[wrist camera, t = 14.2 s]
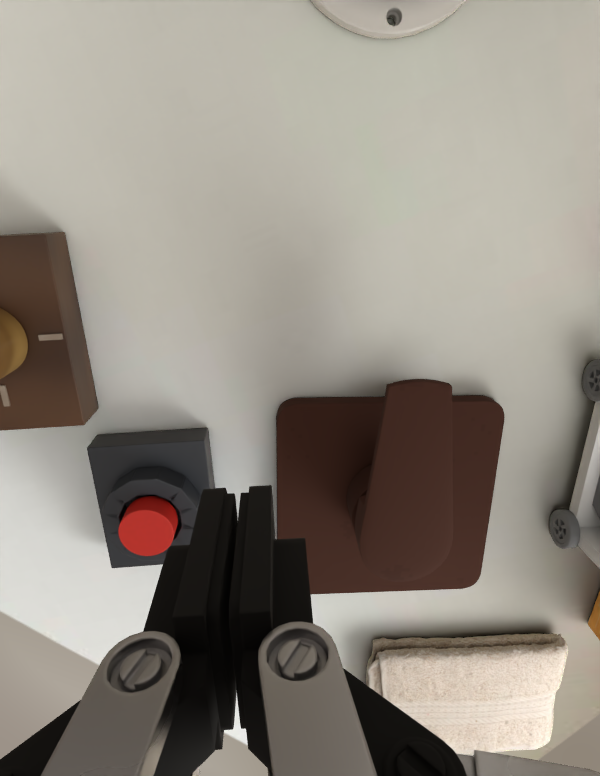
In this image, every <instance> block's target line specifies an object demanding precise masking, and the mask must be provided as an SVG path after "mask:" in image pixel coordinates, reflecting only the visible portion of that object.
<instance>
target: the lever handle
mask: <svg viewBox="0 0 600 776" xmlns="http://www.w3.org/2000/svg"><path fill="white" fill-rule="evenodd" d="M503 425H504V412H503V409H502V407H501V406H500V405H499V404H498V403H497V402H495V401H494V400H493V399H492V398H490V397H487V396H483V395H461V396H452V386H451V385H450V384H449V383H445V382H441V381H436V380H429V379H411V380H403V381H398V382H393V383H390V384H387V387H386V392H385V397H317V398H292V399H289V400H287V401H285V402H283V403H282V404H281V405H280V407H279V409H278V412H277V416H276V435H277V539H290V538H305V541H306V552H307V563H308V574H309V585H310V594H329V593H357V592H384V591H411V590H438V589H462V588H467V587H470V586H472V585H474V584H475V583H476V582H477V580H478V579H479V577H480V574H481V568H482V562H483V555H484V549H485V542H486V536H487V529H488V523H489V516H490V510H491V503H492V497H493V490H494V484H495V477H496V470H497V464H498V457H499V451H500V444H501V438H502V431H503Z"/></svg>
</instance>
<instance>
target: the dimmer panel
mask: <svg viewBox="0 0 600 776" xmlns="http://www.w3.org/2000/svg"><path fill="white" fill-rule="evenodd" d="M0 308H1V309H3V310H5V311H7V312H8V313H10V314H11V315H12V316H13V317H15V318H16V319H17V321H18V322H19V323H20V324H21V326H22V327H23V329H24V331H25V333H26V337H27V341H28V351H27V355H26V358H25V360H24V361H23V363H22V364H21V365H20V366H19V367H18V368H17V369H16V370H14V371H13V372H11V373H9V374H8V375H6V376H5V377H3V378H2V379H0V430H15V429H30V428H46V427H61V426H77V425H85V424H86V422H87V421H88V420H89V419H90V418H91V416H92V415H93V414H94V413H95V412H96V411H97V409H98V403H97V398H96V393H95V387H94V382H93V377H92V372H91V367H90V361H89V356H88V351H87V346H86V341H85V335H84V330H83V325H82V320H81V315H80V309H79V304H78V299H77V294H76V289H75V283H74V278H73V273H72V268H71V263H70V257H69V252H68V247H67V242H66V236H65V232H52V233H31V234H11V235H0Z"/></svg>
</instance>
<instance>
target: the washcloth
mask: <svg viewBox="0 0 600 776" xmlns="http://www.w3.org/2000/svg"><path fill="white" fill-rule="evenodd" d="M372 643H373V648H372V654H371V657H370V658H369V660H368V665H367V669H366V670H367V673H366V685H367V686H369V687H370V688H371V689H373V690H374V691H375V692H377V693H378V694H380V695H381V696H382V697H384V698H385V699H387V700H388V701H389V702H391V703H392V704H393V705H395V706H396V707H398V708H399V709H400V710H402V711H403V712H404V713H406V714H407V715H409V716H410V717H411V718H413V719H414V720H416V721H417V722H418V723H420V724H421V725H422V726H424V727H425V728H427V729H428V730H429V731H431V732H432V733H434V734H435V735H436V736H438V737H439V738H440V739H442V740H443V741H444V742H445V743H446V744H447V745H448V746H450V747H451V748H452V749H453V750H454V751H455V753H457V754H474V750H479V751H485V752H491V753H495V752H502V751H510V750H534V749H537V748H539V747H542V746H544V745H545V744H547V743H548V742H549V741H550V738H551V737H550V736H551V733H552V728H553V717H554V714H553V713H554V708H553V704H554V700H555V692H556V691H557V690H558V688H559V687H560V683H561V680H562V676H563V674H564V667H565V663H566V657H567V653H568V649H567V644H566V641H565V640H564V639H563V638H562V637H561V634H559V635H557V634H553V633H551V634H541V633H539V634H534V633H531V634H524V635H523V634H521V635H520V634H514V635H509V634H508V635H507V634H504V635H496V636H476V637H466V638H459V637H457V638H440V637H439V638H429V639H424V638H421V637H418V638H415V637H410V638H401V639H397V640H392V639H386V638H384V637H382V638H381V639H374V640H372Z"/></svg>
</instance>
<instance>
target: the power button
mask: <svg viewBox="0 0 600 776" xmlns="http://www.w3.org/2000/svg"><path fill="white" fill-rule="evenodd" d="M177 524H178V515H177V512H176V510H175V508H174V507H173V506H172V505H171V504H170V503H169V502H168V501H166V500H164V499H162V498H159V497H155V496H145V497H141V498H138V499H136V500H135V501H133V502H132V503H131V504H130V505H129V506H128V508H127V510H126V512H125V514H124V516H123V518H122V520H121V522H120V525H119V529H118V534H119V538H120V541H121V542H122V544H123V545H124V546H125V547H126V548H127V549H128V550H129V551H131V552H133V553H135V554H138V555H142V556H153V555H157V554H160V553H162V552H164V551H165V550H166V549H167V548H168V547H169V546H170V545H171V543H172V541H173V538H174V535H175V531H176V528H177Z"/></svg>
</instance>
